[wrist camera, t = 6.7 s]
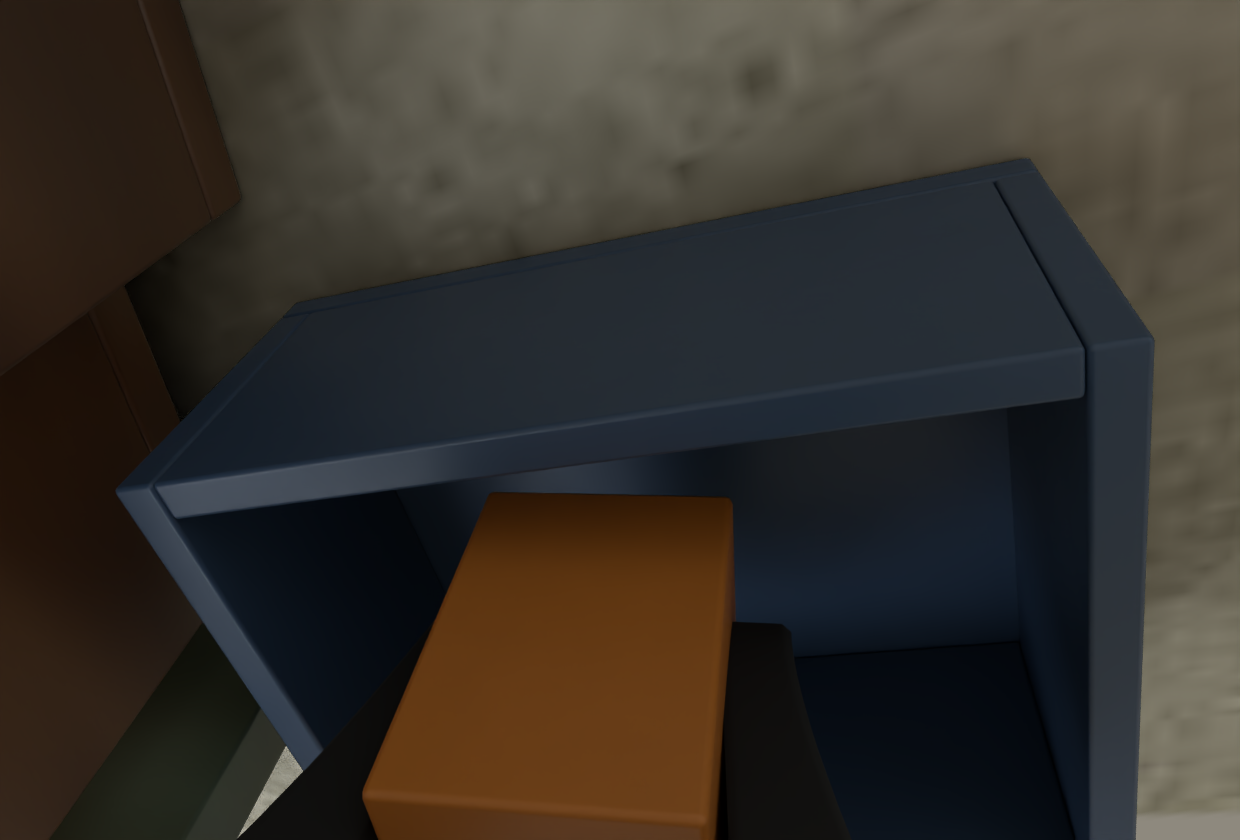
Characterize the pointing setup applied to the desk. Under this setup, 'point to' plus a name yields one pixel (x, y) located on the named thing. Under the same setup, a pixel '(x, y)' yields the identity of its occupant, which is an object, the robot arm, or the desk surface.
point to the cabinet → (97, 156)
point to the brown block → (570, 678)
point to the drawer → (106, 616)
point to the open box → (731, 479)
